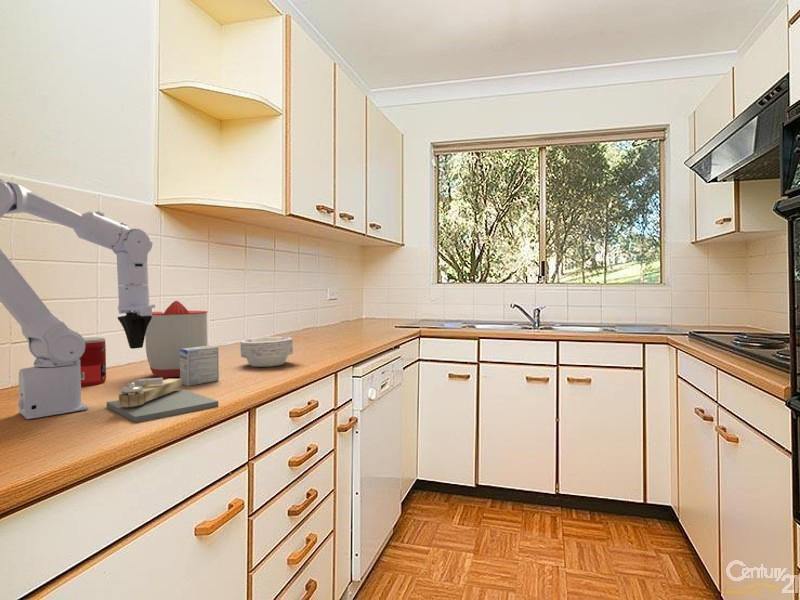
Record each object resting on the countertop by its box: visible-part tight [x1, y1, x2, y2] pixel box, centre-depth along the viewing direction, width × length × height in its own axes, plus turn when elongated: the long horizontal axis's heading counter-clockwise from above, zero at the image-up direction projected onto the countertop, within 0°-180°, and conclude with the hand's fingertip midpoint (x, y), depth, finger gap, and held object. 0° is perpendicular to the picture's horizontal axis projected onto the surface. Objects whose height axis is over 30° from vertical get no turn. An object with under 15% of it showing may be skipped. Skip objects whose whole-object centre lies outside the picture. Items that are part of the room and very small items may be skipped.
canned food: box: [79, 336, 107, 387], centre depth 116 cm, size 8×8×11 cm
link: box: [118, 378, 183, 407], centre depth 95 cm, size 16×4×2 cm, turn 175°
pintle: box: [120, 382, 142, 408], centre depth 89 cm, size 4×4×6 cm
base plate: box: [106, 389, 219, 423], centre depth 93 cm, size 15×16×1 cm
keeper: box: [132, 377, 164, 387], centre depth 95 cm, size 2×5×5 cm, turn 109°
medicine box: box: [179, 345, 220, 387], centre depth 116 cm, size 8×4×9 cm, turn 141°
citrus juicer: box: [144, 300, 209, 379], centre depth 128 cm, size 16×17×20 cm
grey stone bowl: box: [239, 336, 294, 368], centre depth 142 cm, size 15×15×8 cm
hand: (136, 347), depth 102 cm, fingers closed
